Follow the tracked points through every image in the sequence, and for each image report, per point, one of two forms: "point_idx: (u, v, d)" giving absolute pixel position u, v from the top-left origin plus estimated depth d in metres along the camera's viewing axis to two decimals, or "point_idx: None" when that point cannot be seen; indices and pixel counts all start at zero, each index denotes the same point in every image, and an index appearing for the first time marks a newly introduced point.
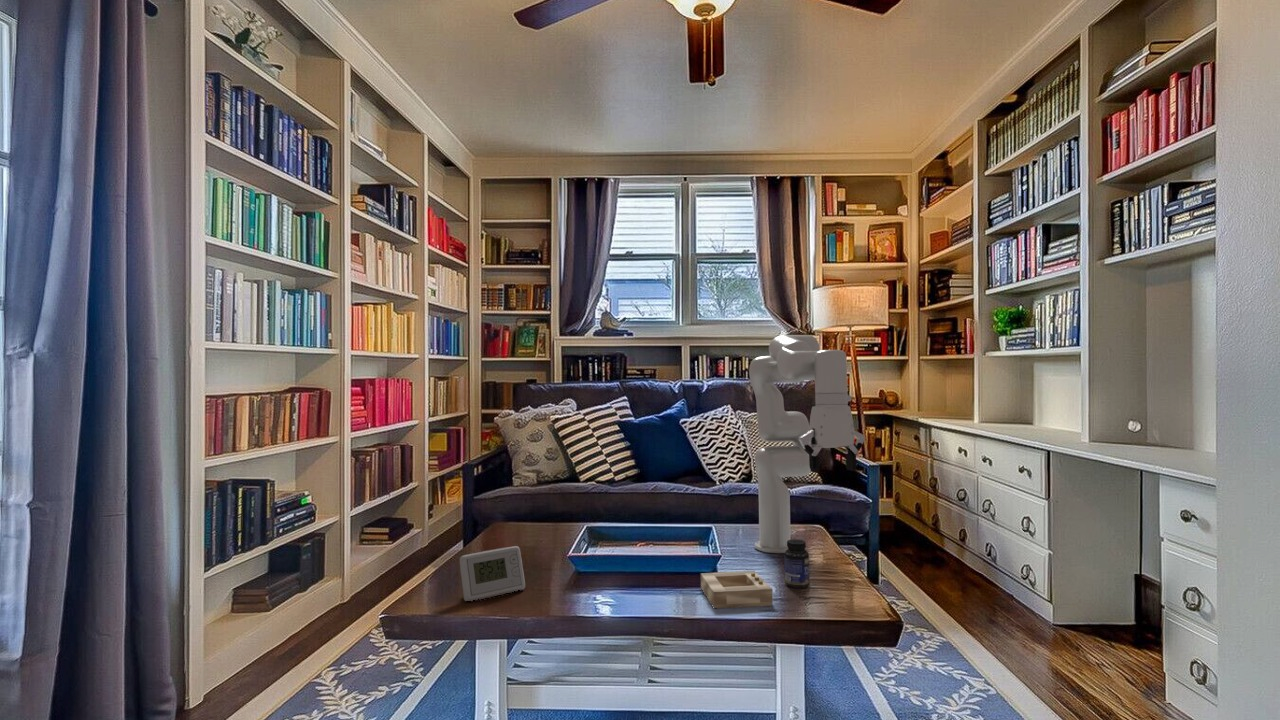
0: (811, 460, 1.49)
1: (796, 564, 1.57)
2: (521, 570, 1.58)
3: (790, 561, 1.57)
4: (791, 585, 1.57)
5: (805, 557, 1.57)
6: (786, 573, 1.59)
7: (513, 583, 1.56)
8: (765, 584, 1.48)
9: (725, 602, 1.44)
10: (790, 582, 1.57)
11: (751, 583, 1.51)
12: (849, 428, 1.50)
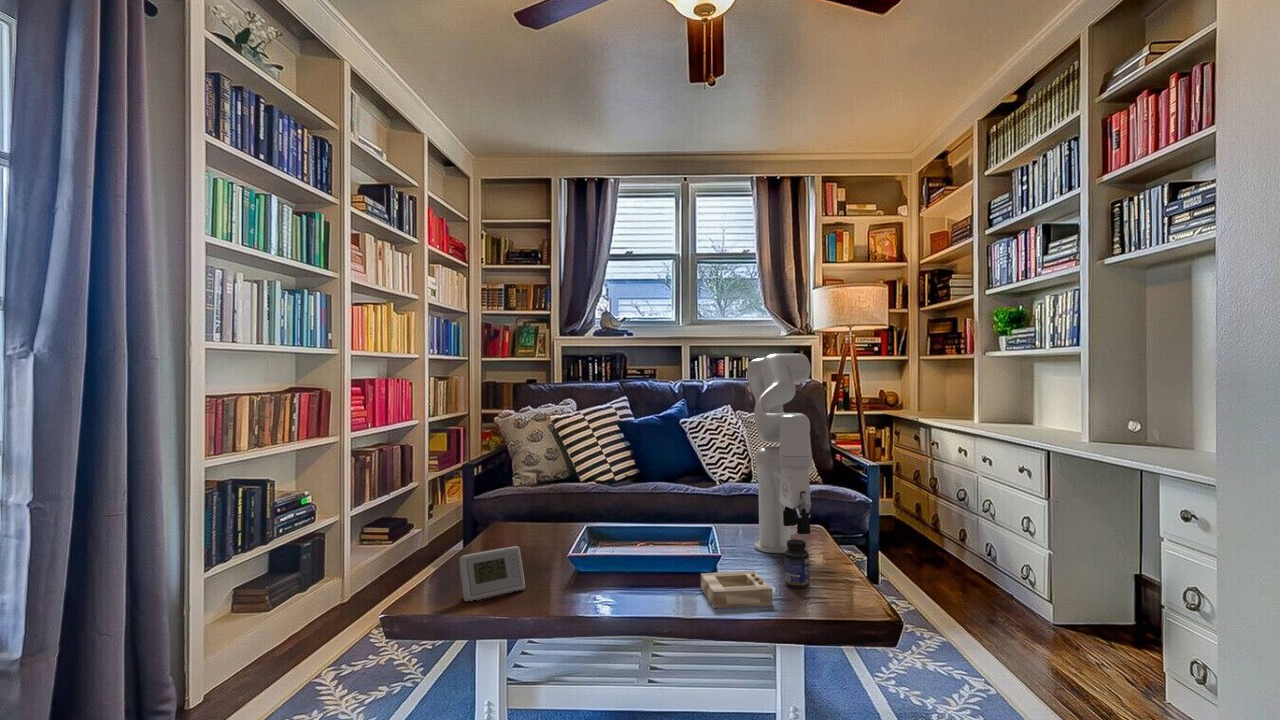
0: (805, 522, 1.54)
1: (796, 564, 1.57)
2: (521, 570, 1.58)
3: (790, 561, 1.57)
4: (791, 585, 1.57)
5: (805, 557, 1.57)
6: (786, 573, 1.59)
7: (513, 583, 1.56)
8: (765, 584, 1.48)
9: (725, 602, 1.44)
10: (790, 582, 1.57)
11: (751, 583, 1.51)
12: None
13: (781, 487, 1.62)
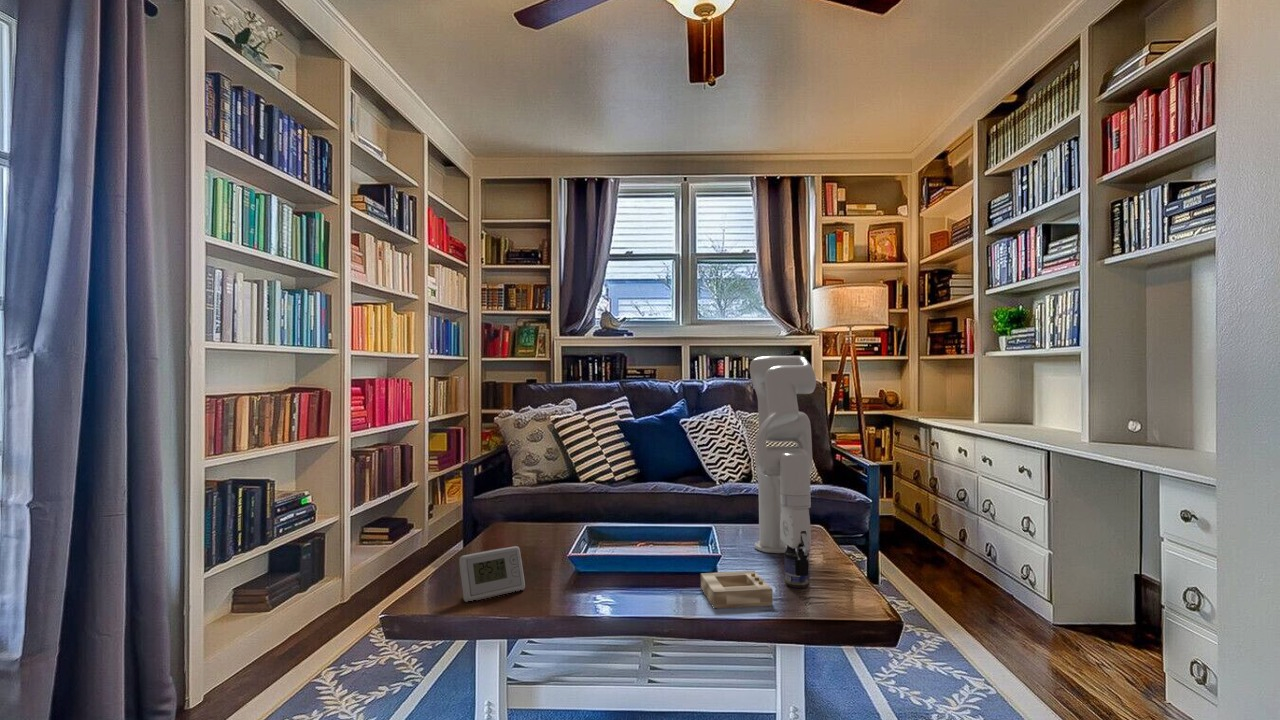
0: (804, 564, 1.55)
1: None
2: (521, 570, 1.58)
3: (790, 561, 1.57)
4: (791, 585, 1.57)
5: None
6: (786, 573, 1.59)
7: (513, 583, 1.55)
8: (765, 584, 1.48)
9: (725, 602, 1.44)
10: (790, 582, 1.57)
11: (751, 583, 1.51)
12: None
13: (781, 524, 1.62)
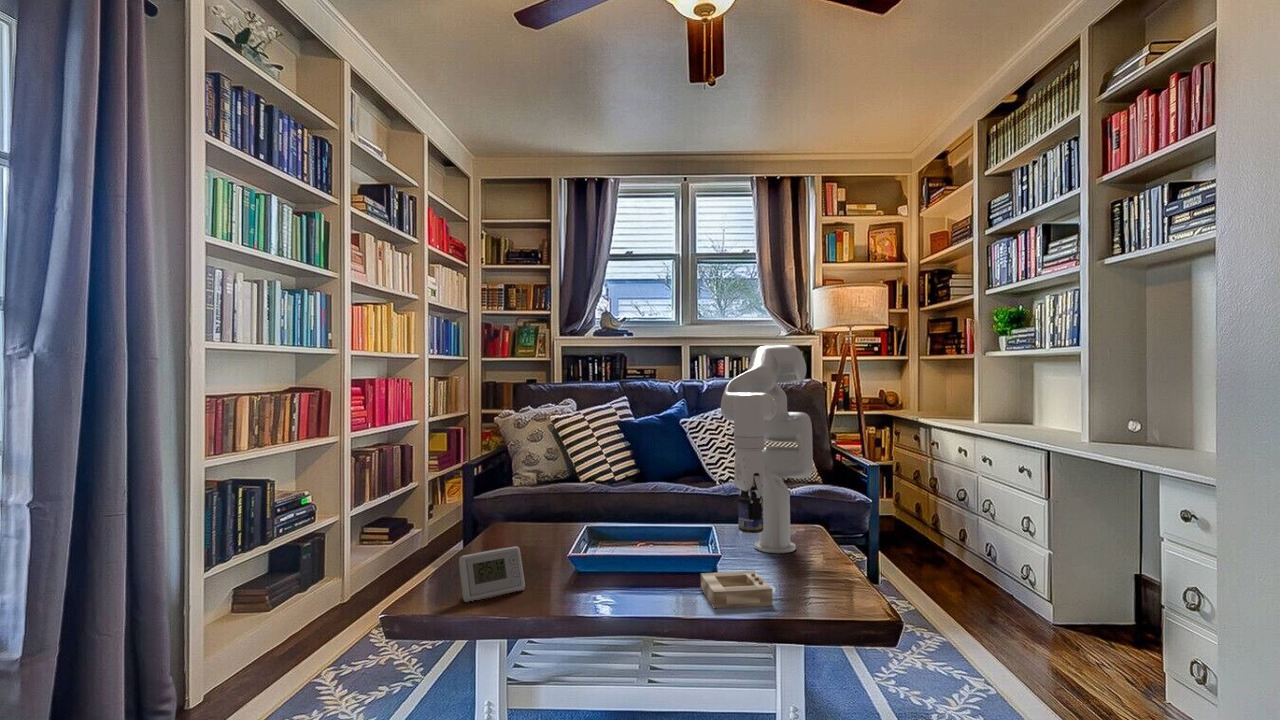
0: (757, 508, 1.50)
1: None
2: (521, 571, 1.58)
3: (744, 505, 1.52)
4: (744, 530, 1.51)
5: None
6: (739, 518, 1.53)
7: (513, 584, 1.55)
8: (765, 584, 1.48)
9: (725, 602, 1.44)
10: (743, 527, 1.52)
11: (751, 583, 1.51)
12: None
13: (735, 469, 1.57)
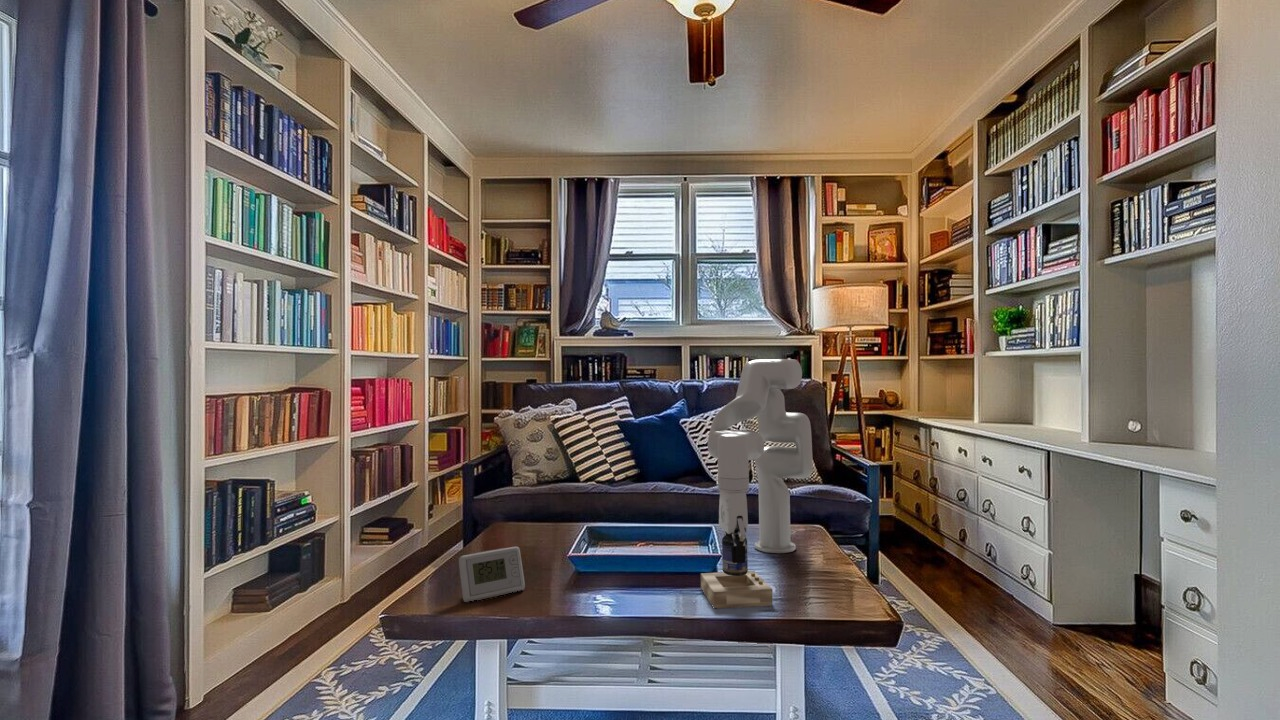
0: (740, 551, 1.47)
1: None
2: (521, 571, 1.58)
3: (727, 547, 1.50)
4: (728, 573, 1.49)
5: None
6: (723, 560, 1.51)
7: (512, 584, 1.55)
8: (765, 584, 1.48)
9: (725, 602, 1.44)
10: (727, 569, 1.50)
11: (751, 583, 1.51)
12: None
13: (720, 509, 1.54)
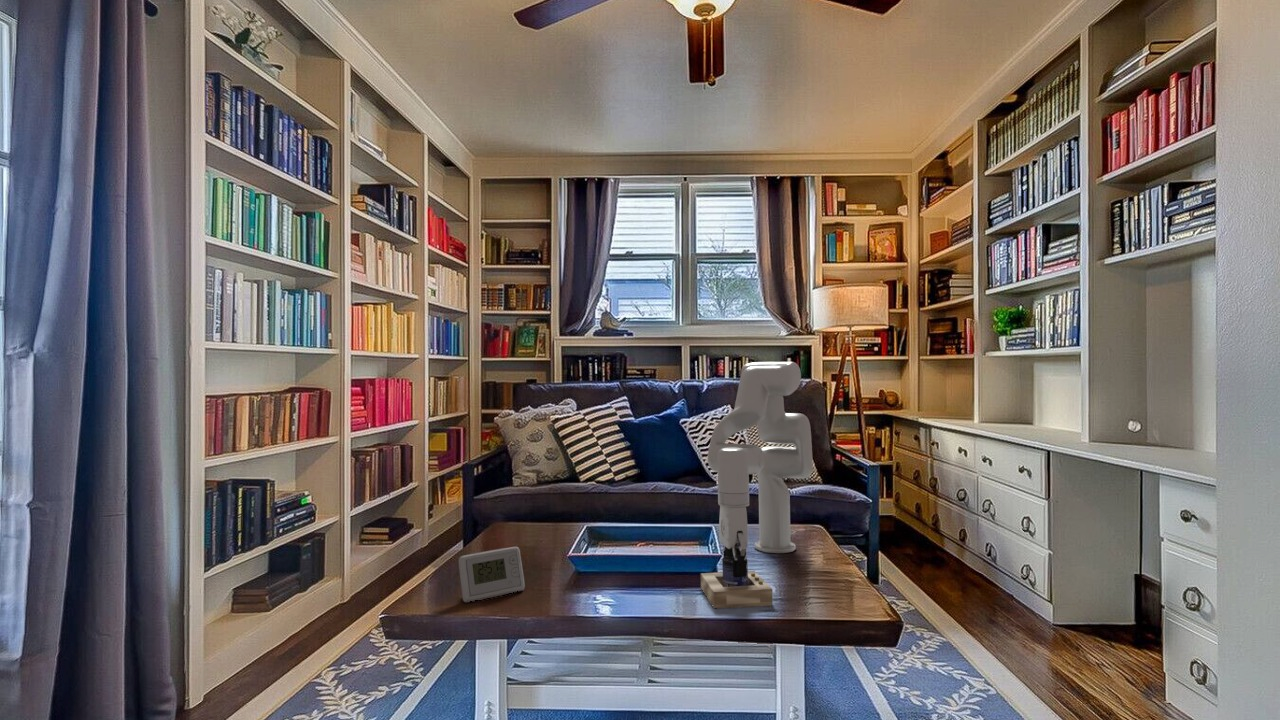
0: (741, 565, 1.46)
1: None
2: (521, 571, 1.58)
3: (728, 567, 1.50)
4: None
5: None
6: (723, 580, 1.51)
7: (512, 584, 1.55)
8: (765, 584, 1.48)
9: (725, 602, 1.44)
10: None
11: (751, 583, 1.51)
12: None
13: (720, 524, 1.54)
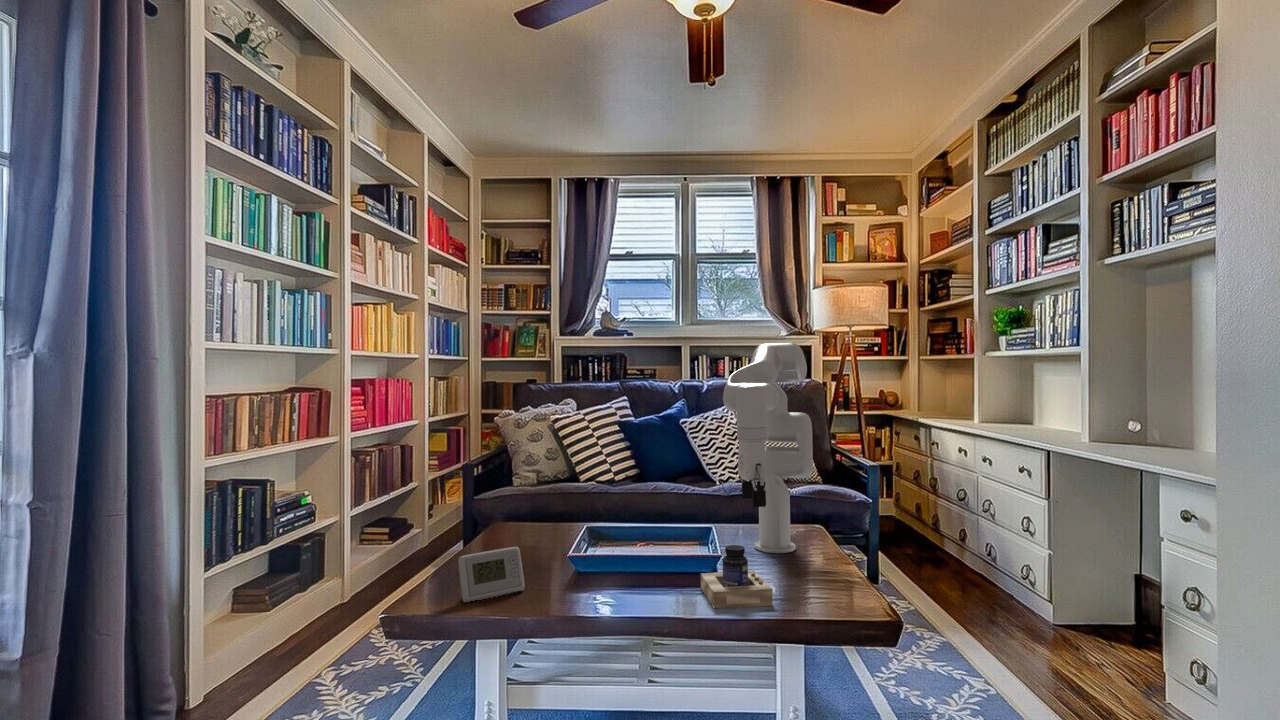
0: (761, 495, 1.50)
1: (734, 572, 1.49)
2: (520, 571, 1.57)
3: (728, 568, 1.49)
4: None
5: (743, 564, 1.49)
6: (724, 581, 1.51)
7: (512, 584, 1.55)
8: (765, 584, 1.48)
9: (725, 602, 1.44)
10: None
11: (751, 583, 1.51)
12: None
13: (739, 459, 1.59)
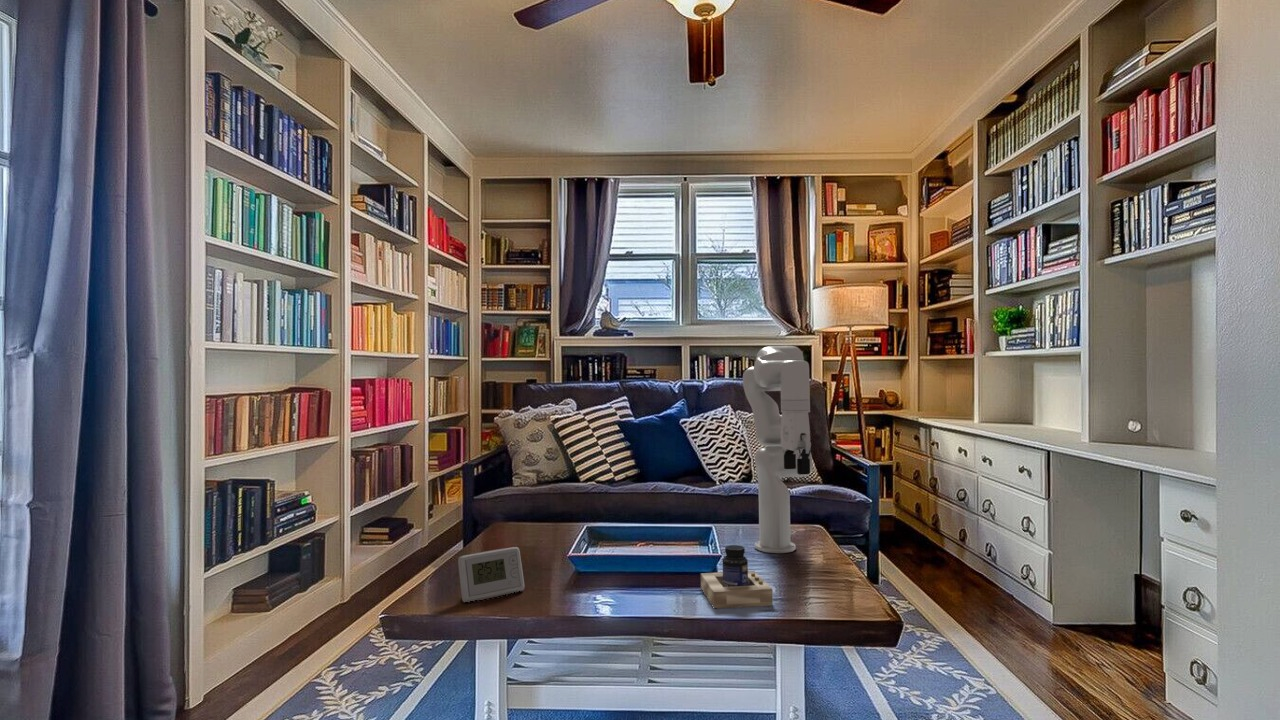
0: (805, 463, 1.59)
1: (733, 572, 1.49)
2: (520, 571, 1.57)
3: (728, 568, 1.49)
4: None
5: (743, 564, 1.49)
6: (724, 581, 1.51)
7: (512, 584, 1.55)
8: (765, 584, 1.48)
9: (725, 602, 1.44)
10: None
11: (751, 583, 1.51)
12: None
13: (782, 431, 1.67)
